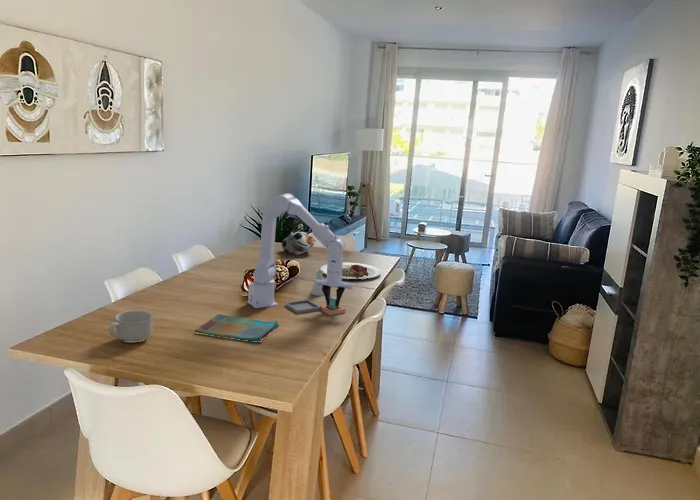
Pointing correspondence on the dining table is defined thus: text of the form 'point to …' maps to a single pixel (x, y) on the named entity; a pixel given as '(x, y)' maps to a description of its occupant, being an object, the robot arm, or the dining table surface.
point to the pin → (332, 303)
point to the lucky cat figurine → (298, 243)
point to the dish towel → (237, 328)
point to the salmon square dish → (332, 312)
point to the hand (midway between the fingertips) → (332, 305)
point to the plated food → (355, 270)
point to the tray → (302, 306)
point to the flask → (318, 289)
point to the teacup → (132, 325)
